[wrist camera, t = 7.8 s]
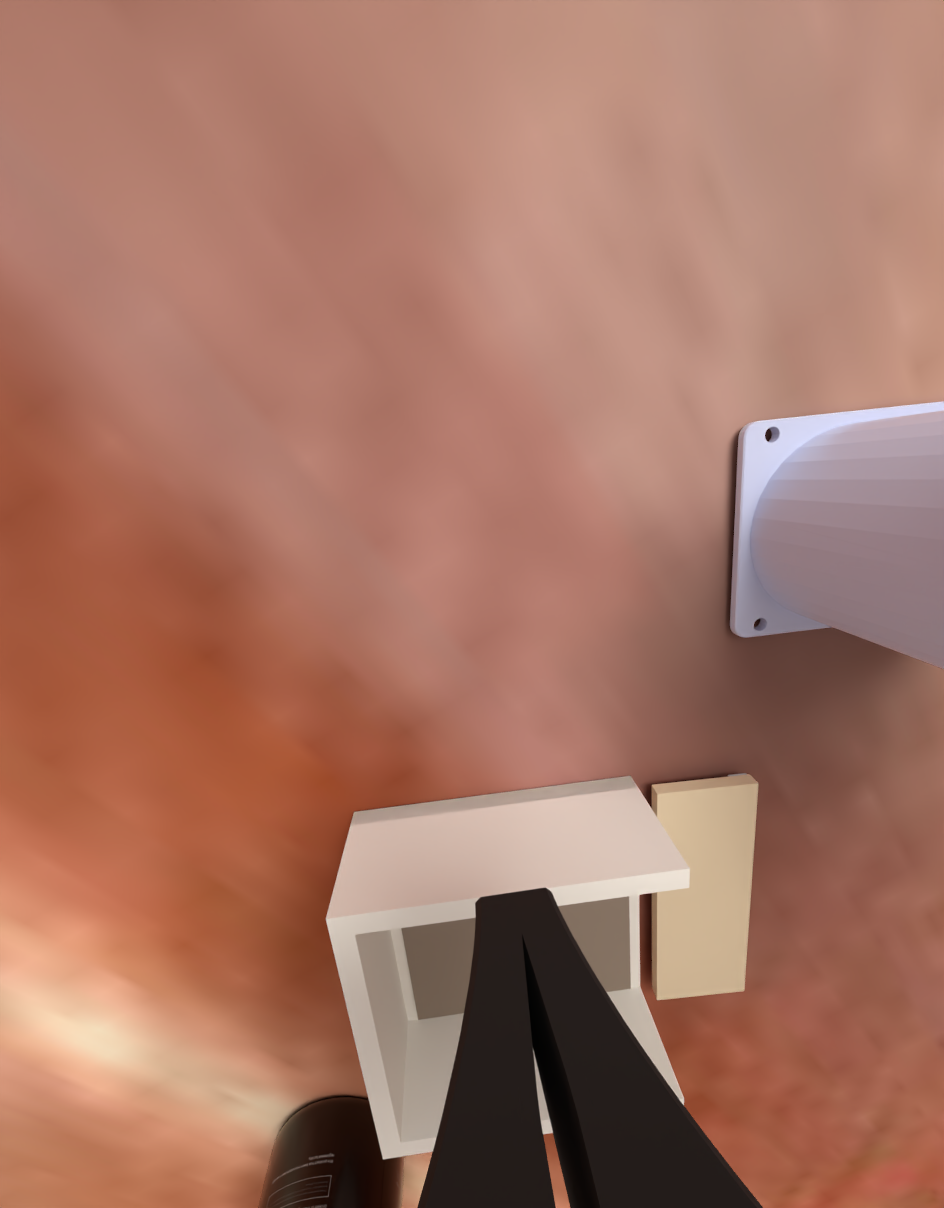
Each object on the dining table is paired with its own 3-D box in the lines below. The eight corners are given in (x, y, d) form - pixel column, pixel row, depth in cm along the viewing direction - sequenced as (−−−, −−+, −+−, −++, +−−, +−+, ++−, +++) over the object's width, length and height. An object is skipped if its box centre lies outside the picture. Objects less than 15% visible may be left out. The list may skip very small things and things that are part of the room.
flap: (650, 783, 20) (748, 772, 20) (651, 985, 23) (735, 975, 23) (657, 793, 19) (758, 783, 19) (657, 1000, 22) (744, 991, 22)
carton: (630, 775, 20) (689, 868, 15) (633, 981, 23) (683, 1112, 19) (354, 811, 20) (325, 918, 15) (395, 1016, 23) (383, 1159, 18)
